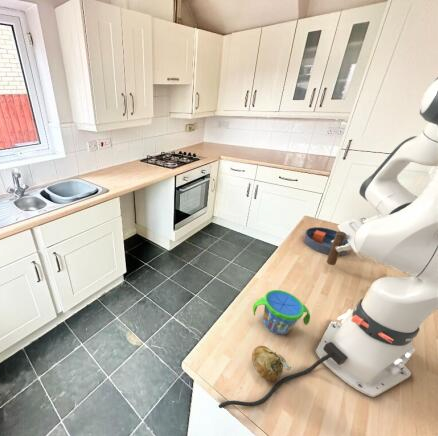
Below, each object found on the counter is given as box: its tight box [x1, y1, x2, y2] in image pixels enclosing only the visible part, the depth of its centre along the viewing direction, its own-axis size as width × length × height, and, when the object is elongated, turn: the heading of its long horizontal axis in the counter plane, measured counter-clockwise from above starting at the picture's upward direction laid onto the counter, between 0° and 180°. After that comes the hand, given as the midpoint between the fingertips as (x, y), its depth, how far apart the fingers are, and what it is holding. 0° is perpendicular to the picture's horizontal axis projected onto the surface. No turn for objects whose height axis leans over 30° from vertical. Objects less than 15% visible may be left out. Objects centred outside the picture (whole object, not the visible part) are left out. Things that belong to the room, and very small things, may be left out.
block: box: [312, 230, 326, 243], centre depth 116 cm, size 4×4×4 cm
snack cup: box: [252, 289, 311, 335], centre depth 74 cm, size 16×10×10 cm
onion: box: [251, 345, 293, 381], centre depth 63 cm, size 8×8×8 cm
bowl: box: [302, 226, 351, 257], centre depth 113 cm, size 18×18×4 cm
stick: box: [326, 230, 346, 266], centre depth 95 cm, size 3×3×14 cm
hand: (334, 246), depth 95 cm, fingers closed on stick, 3 cm apart
